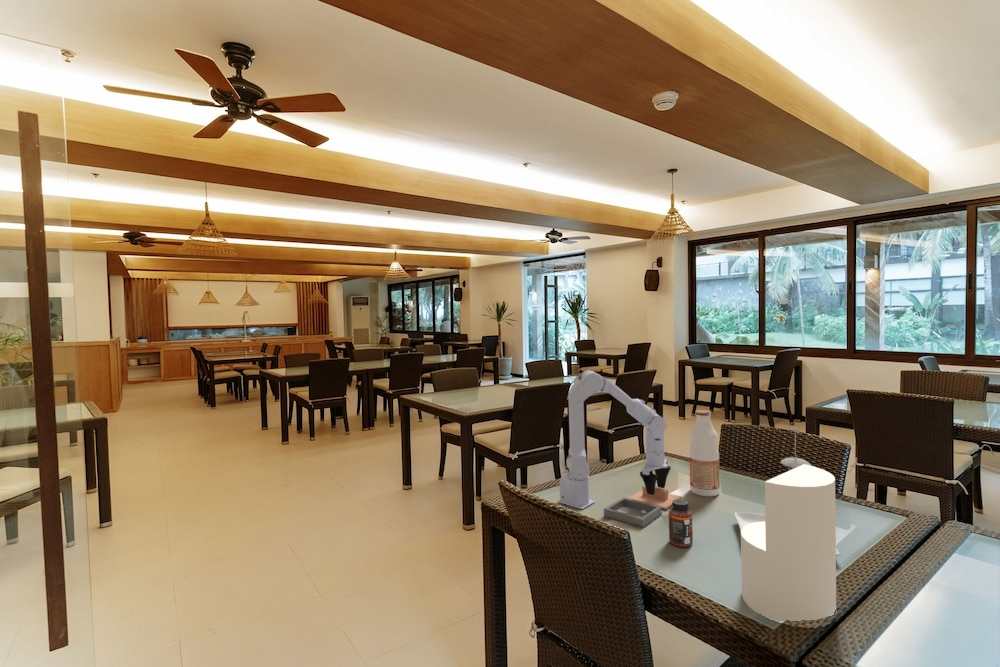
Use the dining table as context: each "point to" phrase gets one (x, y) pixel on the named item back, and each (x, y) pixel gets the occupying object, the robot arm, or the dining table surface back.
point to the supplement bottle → (680, 524)
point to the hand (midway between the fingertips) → (656, 490)
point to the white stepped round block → (792, 548)
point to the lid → (656, 497)
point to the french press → (794, 461)
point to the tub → (632, 512)
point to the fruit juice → (704, 456)
